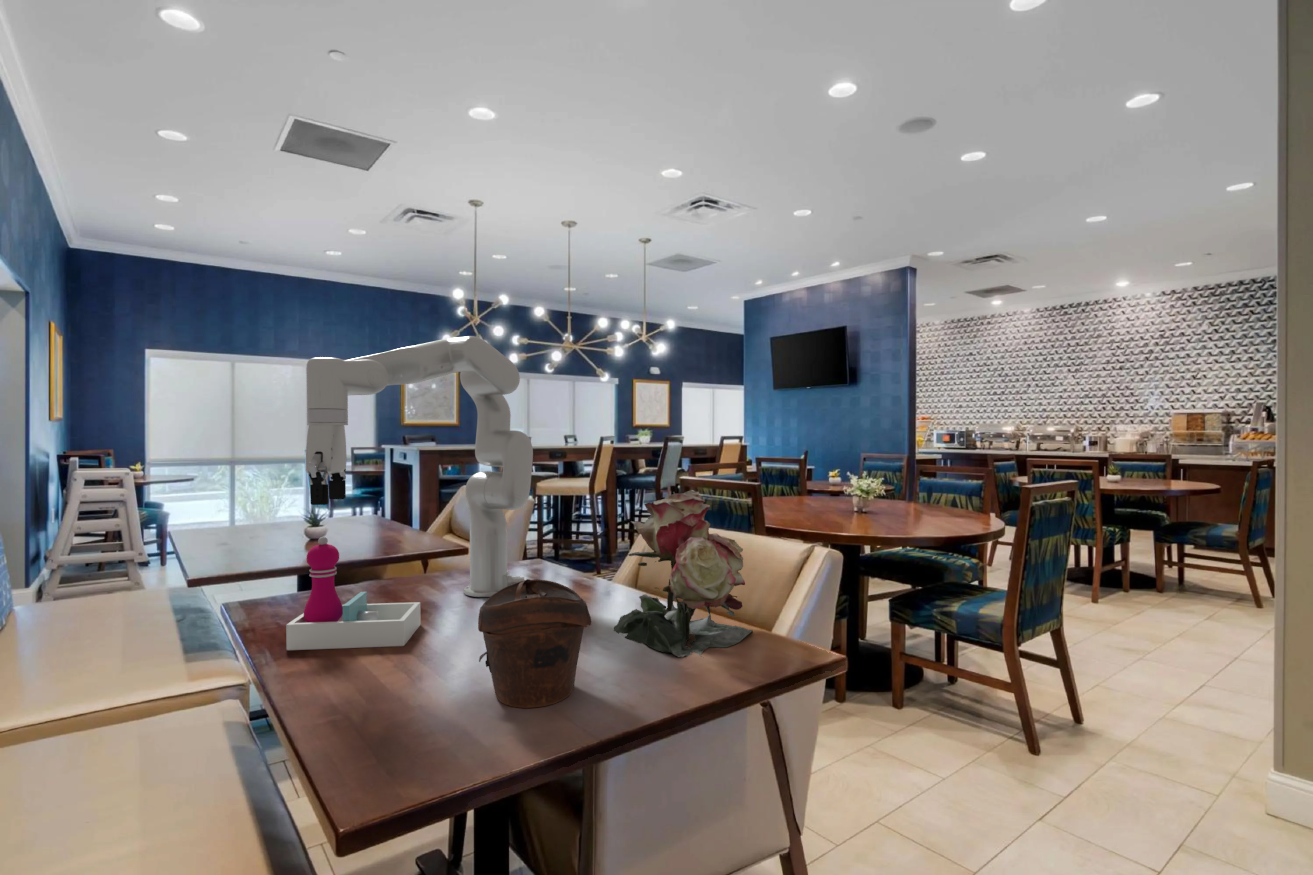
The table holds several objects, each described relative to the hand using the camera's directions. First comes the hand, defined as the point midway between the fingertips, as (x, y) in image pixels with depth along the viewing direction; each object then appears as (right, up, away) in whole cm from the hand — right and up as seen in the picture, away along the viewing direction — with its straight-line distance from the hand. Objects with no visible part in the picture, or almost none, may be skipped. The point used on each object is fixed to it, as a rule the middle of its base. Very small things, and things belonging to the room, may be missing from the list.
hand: (328, 501), depth 136 cm
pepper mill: (-1, -27, 0) cm, 27 cm away
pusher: (+7, -27, +1) cm, 28 cm away
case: (+47, -29, -27) cm, 62 cm away
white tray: (+5, -28, +1) cm, 29 cm away
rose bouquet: (+74, -28, +3) cm, 80 cm away
